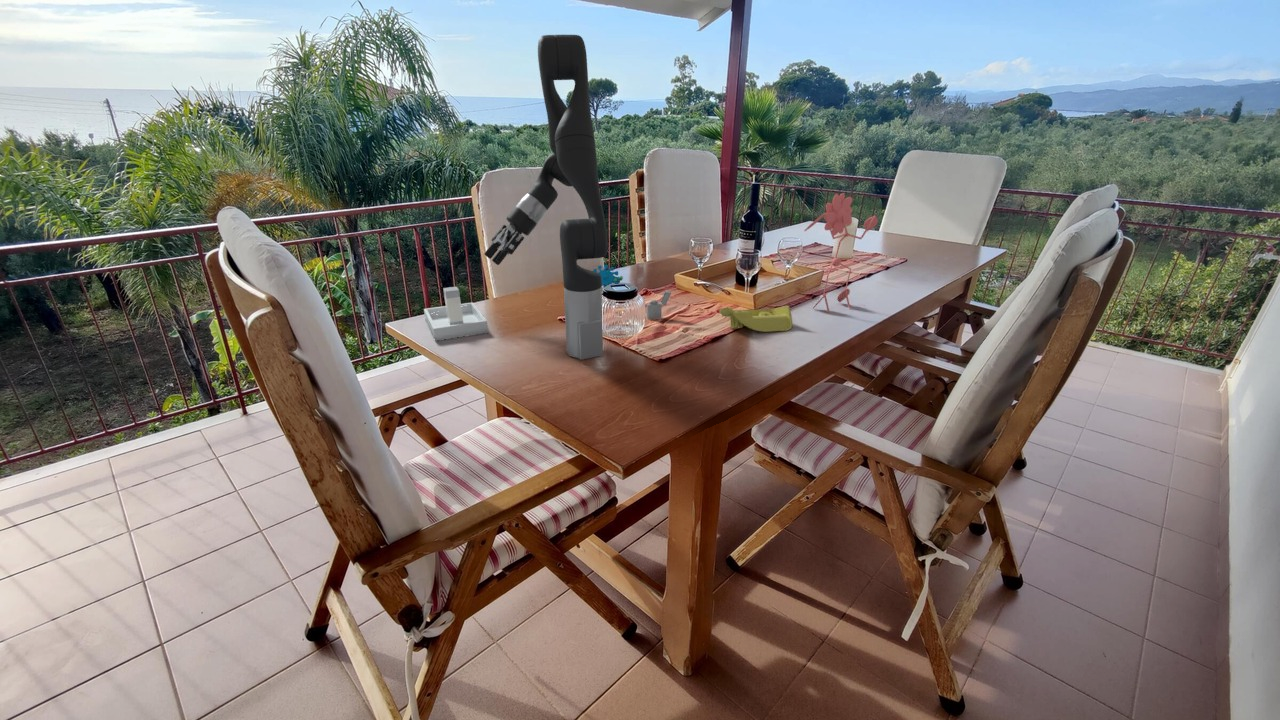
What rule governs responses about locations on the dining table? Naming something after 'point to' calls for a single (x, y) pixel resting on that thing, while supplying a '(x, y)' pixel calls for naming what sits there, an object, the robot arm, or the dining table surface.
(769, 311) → the plastic component
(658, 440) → the dining table surface
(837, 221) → the pink flower stick figure
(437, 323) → the parts tray
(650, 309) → the lighter
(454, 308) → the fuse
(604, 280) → the blue irregular piece
